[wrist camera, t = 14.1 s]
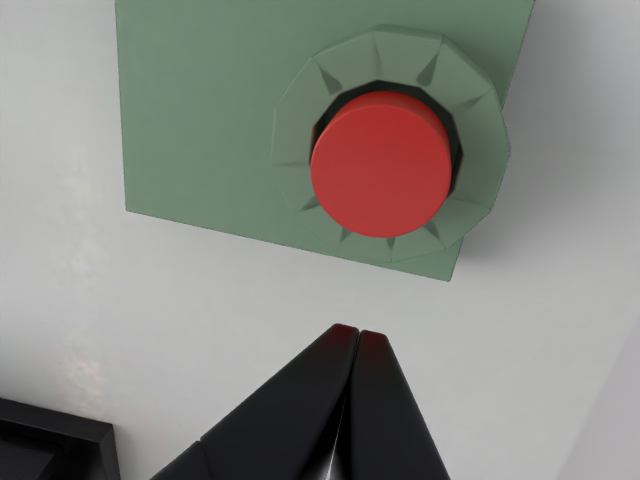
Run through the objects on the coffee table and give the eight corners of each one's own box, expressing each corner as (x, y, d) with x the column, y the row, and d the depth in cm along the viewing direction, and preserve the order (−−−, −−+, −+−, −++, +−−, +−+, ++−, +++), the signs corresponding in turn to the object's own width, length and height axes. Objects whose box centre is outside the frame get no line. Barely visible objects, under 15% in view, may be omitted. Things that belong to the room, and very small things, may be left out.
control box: (536, -6, 15) (560, 1, 12) (456, 260, 19) (458, 315, 16) (139, -67, 16) (71, -75, 13) (147, 193, 21) (97, 232, 18)
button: (465, 103, 14) (468, 119, 12) (433, 223, 15) (432, 251, 14) (332, 79, 14) (319, 92, 13) (315, 199, 16) (302, 223, 14)
